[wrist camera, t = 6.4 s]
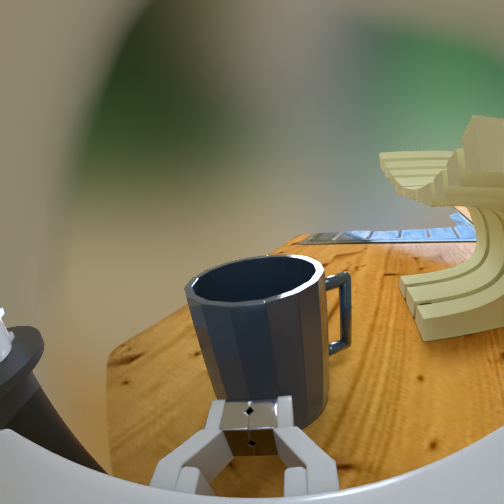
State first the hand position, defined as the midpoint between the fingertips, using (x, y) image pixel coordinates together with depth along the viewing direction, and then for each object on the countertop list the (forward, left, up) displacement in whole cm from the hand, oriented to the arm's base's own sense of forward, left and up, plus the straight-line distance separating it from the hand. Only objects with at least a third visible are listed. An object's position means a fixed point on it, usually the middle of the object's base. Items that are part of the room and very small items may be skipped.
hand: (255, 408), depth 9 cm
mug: (+1, +8, -7) cm, 11 cm away
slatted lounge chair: (+23, +16, -7) cm, 29 cm away
